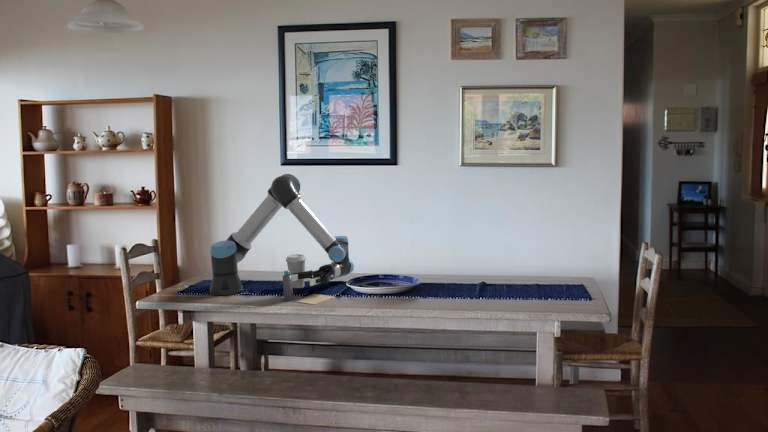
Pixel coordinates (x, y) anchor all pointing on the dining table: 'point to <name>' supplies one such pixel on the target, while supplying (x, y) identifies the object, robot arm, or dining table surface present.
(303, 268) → the coffee cup
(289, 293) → the grey bottle
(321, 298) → the notepad
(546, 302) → the dining table surface
